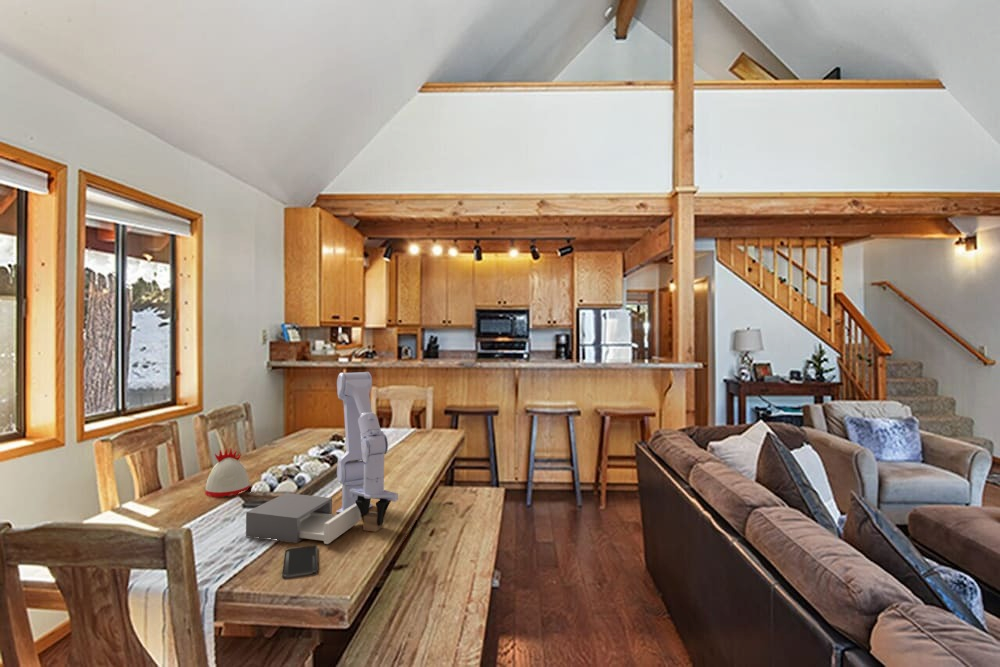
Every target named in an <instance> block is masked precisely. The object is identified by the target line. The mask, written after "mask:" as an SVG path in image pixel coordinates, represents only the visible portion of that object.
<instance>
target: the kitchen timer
mask: <svg viewBox="0 0 1000 667" xmlns="http://www.w3.org/2000/svg"><path fill="white" fill-rule="evenodd" d="M236 455H237V450H235V451H234V452H233V451H232V448H230V449H229V453H228V450H227V448H225V450H224V454H223V453H222V450H221V449H219V455H217V453H214V456H215V459H217V463H216V464H215V465H213V468H212V469H211V470H210V471H209V472H208V477H207V481H206V483H205V488H204V489H205V490H204V491H205V492H204V494H205V496H207V497H210V496H212V497H211V498H224V497H223V496H228V497H232V496H231V495H234V496H236V495H235V494H238V493H239V492H241V491H244V490H247V489H248V488H249V487H250V488H251V486H250V485H251V484H250V483H251V482H250V477H249V475H248V472H247V468H246V467H245V465H244V464H243V463H242V462H241V461H240V460H239V459H240V458H241V455H242V454H241V453H239V455H238V456H236ZM238 495H239V494H238Z"/></svg>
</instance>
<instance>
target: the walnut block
mask: <svg viewBox="0 0 1000 667" xmlns="http://www.w3.org/2000/svg"><path fill="white" fill-rule="evenodd" d="M377 516H378V514H377V511H370V510H369V513H367V514H366V515H365V516H364V522H363V521H362V523H363V525H362V526H363V531H367V532H378V531H379V530H380V529H381V528H383V526H384V525H383V524H384V522H383V523H382V524H381V525H380V526H379V525H378V523H377Z"/></svg>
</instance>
